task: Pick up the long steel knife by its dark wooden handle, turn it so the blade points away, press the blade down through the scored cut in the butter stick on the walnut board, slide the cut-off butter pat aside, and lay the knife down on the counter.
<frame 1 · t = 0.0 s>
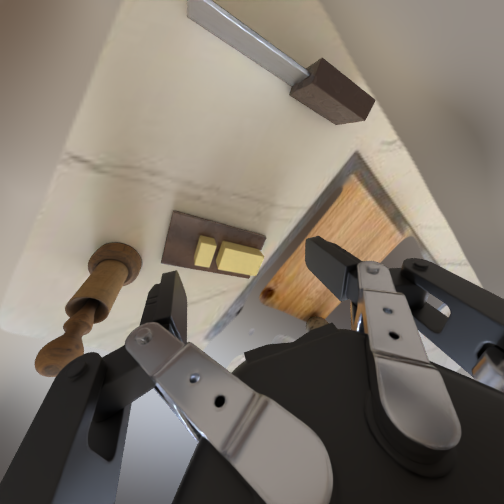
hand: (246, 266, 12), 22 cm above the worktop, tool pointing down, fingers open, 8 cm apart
butter board: (215, 247, 35), on the worktop
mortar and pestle: (119, 260, 31), on the worktop
knife: (292, 85, 27), on the worktop
butter pat: (204, 247, 33), point 1 cm above the worktop, touching butter board
decorative egg: (310, 319, 52), on the worktop
butter stick: (237, 254, 35), point 1 cm above the worktop, touching butter board
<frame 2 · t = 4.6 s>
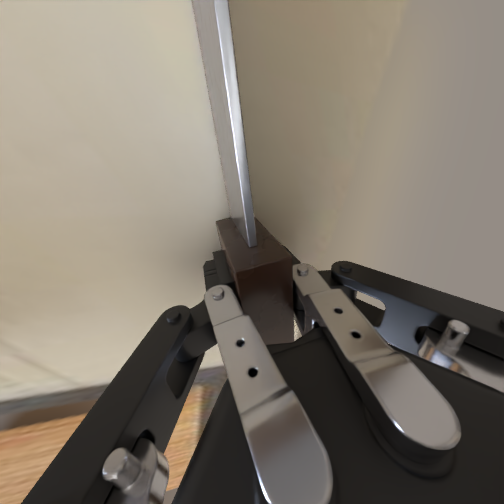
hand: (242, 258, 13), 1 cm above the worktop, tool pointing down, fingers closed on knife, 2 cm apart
knife: (233, 216, 13), on the worktop, touching gripper
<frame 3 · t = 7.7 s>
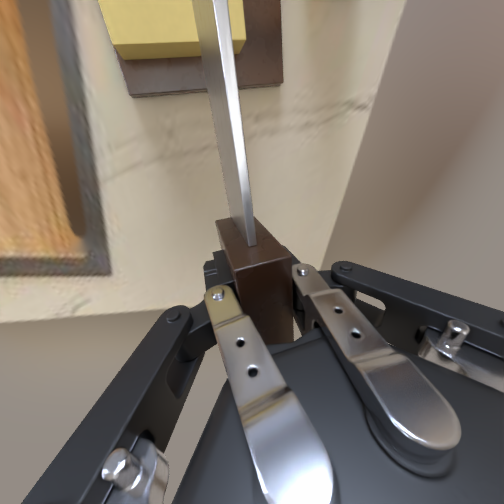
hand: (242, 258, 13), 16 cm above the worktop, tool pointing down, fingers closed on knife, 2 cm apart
butter board: (200, 32, 19), on the worktop
knife: (233, 216, 13), point 15 cm above the worktop, touching gripper
butter pat: (223, 26, 19), point 1 cm above the worktop, touching butter board
butter stick: (156, 28, 18), point 1 cm above the worktop, touching butter board
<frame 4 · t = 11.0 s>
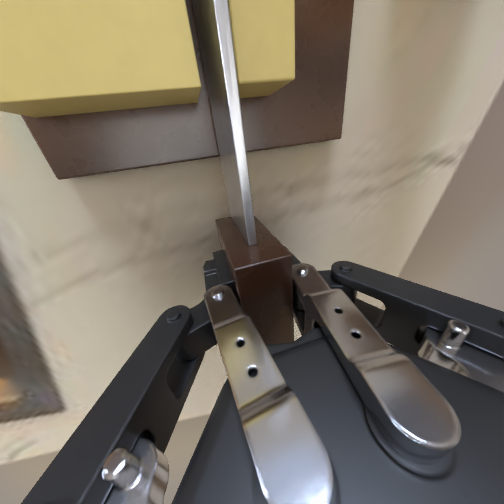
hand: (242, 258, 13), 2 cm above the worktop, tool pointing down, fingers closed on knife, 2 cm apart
butter board: (197, 55, 10), on the worktop
knife: (233, 215, 13), point 1 cm above the worktop, touching gripper
butter pat: (243, 45, 9), point 1 cm above the worktop, touching butter board
butter stick: (101, 51, 8), point 1 cm above the worktop, touching butter board
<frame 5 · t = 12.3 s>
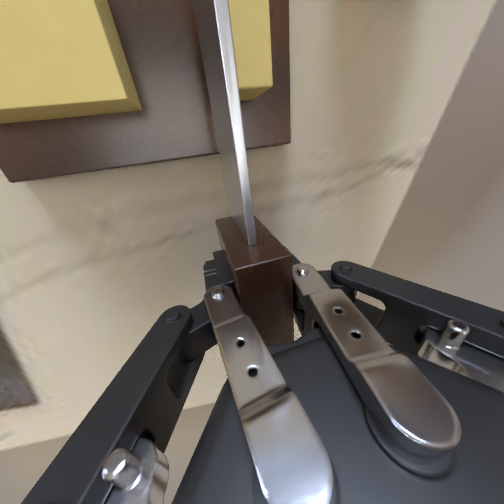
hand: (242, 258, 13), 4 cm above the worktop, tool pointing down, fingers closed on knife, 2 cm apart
butter board: (141, 66, 10), on the worktop
knife: (233, 215, 13), point 3 cm above the worktop, touching gripper
butter pat: (227, 54, 10), point 1 cm above the worktop, touching butter board
butter stick: (42, 63, 9), point 1 cm above the worktop, touching butter board
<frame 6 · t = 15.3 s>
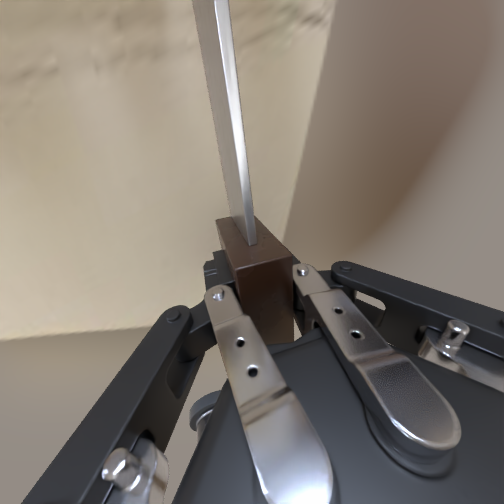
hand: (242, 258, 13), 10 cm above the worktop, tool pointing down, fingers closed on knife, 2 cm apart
knife: (233, 215, 13), point 9 cm above the worktop, touching gripper
when the fingers open (1 cm above the worktop, at t = 17.5 s): knife stays where it is, on the worktop.
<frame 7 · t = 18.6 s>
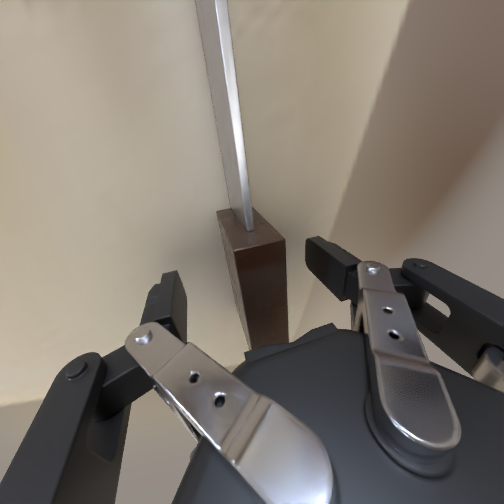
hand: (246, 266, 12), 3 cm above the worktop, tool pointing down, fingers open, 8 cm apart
knife: (233, 207, 14), on the worktop
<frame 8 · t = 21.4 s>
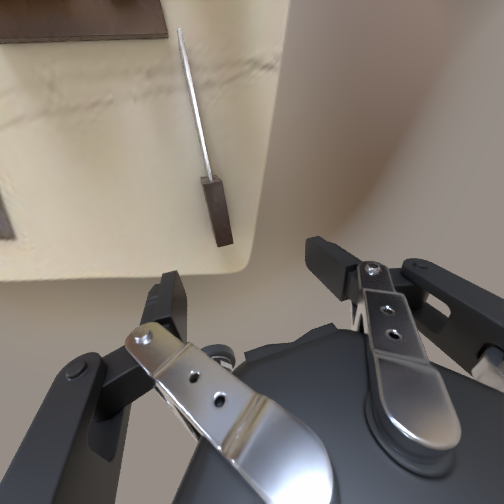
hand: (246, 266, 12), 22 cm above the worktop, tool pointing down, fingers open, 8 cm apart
knife: (208, 176, 30), on the worktop
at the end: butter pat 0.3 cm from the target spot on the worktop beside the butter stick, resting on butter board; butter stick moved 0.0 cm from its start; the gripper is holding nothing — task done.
